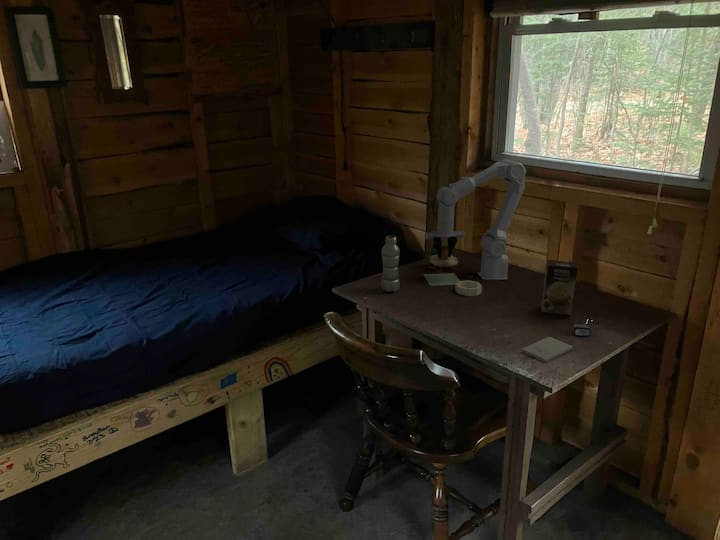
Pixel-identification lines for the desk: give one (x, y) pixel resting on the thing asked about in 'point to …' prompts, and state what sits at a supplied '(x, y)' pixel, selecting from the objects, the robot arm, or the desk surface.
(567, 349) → the external hard drive
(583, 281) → the desk surface
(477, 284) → the bowl
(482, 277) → the robot arm
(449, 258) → the lid
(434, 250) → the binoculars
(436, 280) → the mat
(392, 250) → the plastic bottle
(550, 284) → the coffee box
